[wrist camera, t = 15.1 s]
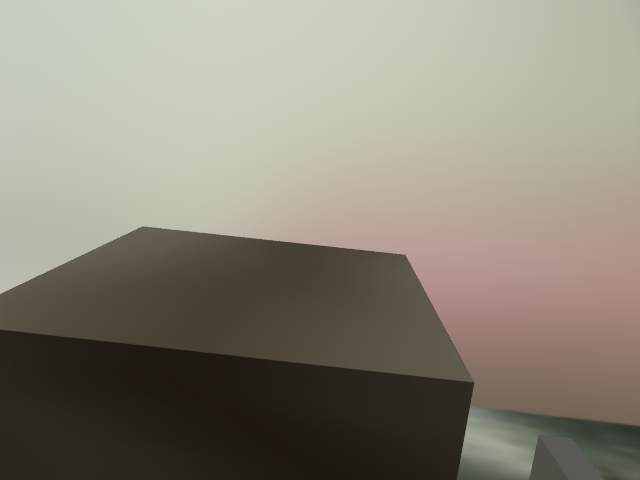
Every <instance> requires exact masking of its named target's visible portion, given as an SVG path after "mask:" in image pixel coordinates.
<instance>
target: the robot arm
mask: <svg viewBox="0 0 640 480" xmlns="http://www.w3.org/2000/svg"><path fill="white" fill-rule="evenodd" d="M529 480H604V479H603V478H602V477H601V475H600V474H599V473H598V471H597V470H596V469H595V468H594V466H593V465H592V464H591V462H590V461H589V460H588V458H587V457H586V456H585V455H584V453H583V452H582V451H581V449H580V448H579V447H578V446H577V444H576V443H575V442H574V440H573V439H571V438H562V437H553V436H544V435H539V437H538V441H537V446H536V451H535V455H534V460H533V465H532V469H531V474H530V479H529Z"/></svg>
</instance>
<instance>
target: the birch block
mask: <svg viewBox="0 0 640 480" xmlns="http://www.w3.org/2000/svg"><path fill="white" fill-rule="evenodd" d="M473 386H474V381H473V380H472V378H471V376H470V374H469V372H468V370H467V369H466V367H465V365H464V363H463V361H462V359H461V357H460V355H459V353H458V352H457V350H456V348H455V346H454V344H453V342H452V340H451V339H450V337H449V335H448V333H447V331H446V330H445V328H444V326H443V324H442V322H441V320H440V319H439V317H438V315H437V313H436V311H435V309H434V307H433V305H432V304H431V302H430V300H429V298H428V296H427V294H426V292H425V291H424V289H423V287H422V285H421V283H420V281H419V279H418V278H417V276H416V274H415V272H414V270H413V268H412V267H411V265H410V263H409V261H408V259H407V257H406V256H405V255H401V254H392V253H382V252H374V251H364V250H354V249H346V248H337V247H328V246H318V245H309V244H298V243H291V242H281V241H272V240H263V239H253V238H244V237H235V236H226V235H216V234H206V233H197V232H189V231H179V230H169V229H161V228H152V227H141V228H138V229H137V230H134V231H132V232H130V233H128V234H126V235H124V236H122V237H120V238H117V239H115V240H113V241H111V242H109V243H107V244H105V245H103V246H101V247H99V248H97V249H94V250H92V251H90V252H88V253H86V254H84V255H82V256H80V257H77V258H75V259H73V260H71V261H69V262H67V263H65V264H63V265H61V266H59V267H57V268H54V269H52V270H50V271H48V272H46V273H44V274H42V275H39V276H37V277H35V278H33V279H31V280H29V281H27V282H25V283H23V284H21V285H18V286H16V287H14V288H12V289H10V290H8V291H6V292H4V293H2V294H0V480H457V475H458V469H459V464H460V458H461V453H462V447H463V441H464V436H465V430H466V425H467V419H468V414H469V408H470V403H471V397H472V392H473Z"/></svg>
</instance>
